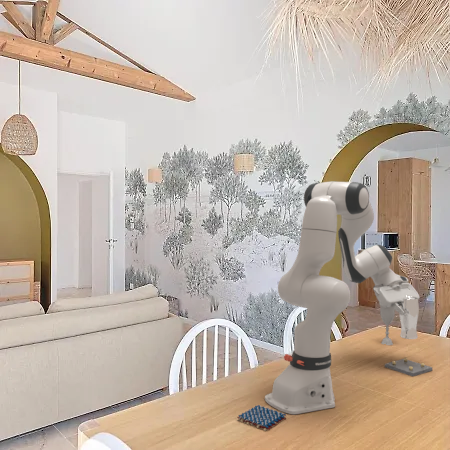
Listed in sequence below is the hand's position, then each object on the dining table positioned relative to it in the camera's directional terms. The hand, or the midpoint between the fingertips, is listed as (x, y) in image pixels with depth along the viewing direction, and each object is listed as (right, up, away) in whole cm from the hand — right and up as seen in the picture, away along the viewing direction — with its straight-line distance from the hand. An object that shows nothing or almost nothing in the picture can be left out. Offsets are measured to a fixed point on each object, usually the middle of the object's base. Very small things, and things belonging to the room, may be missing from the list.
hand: (410, 313), depth 166 cm
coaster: (0, -21, +1) cm, 21 cm away
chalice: (+4, -21, +35) cm, 41 cm away
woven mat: (-60, -22, -42) cm, 76 cm away
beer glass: (0, -9, +1) cm, 9 cm away
